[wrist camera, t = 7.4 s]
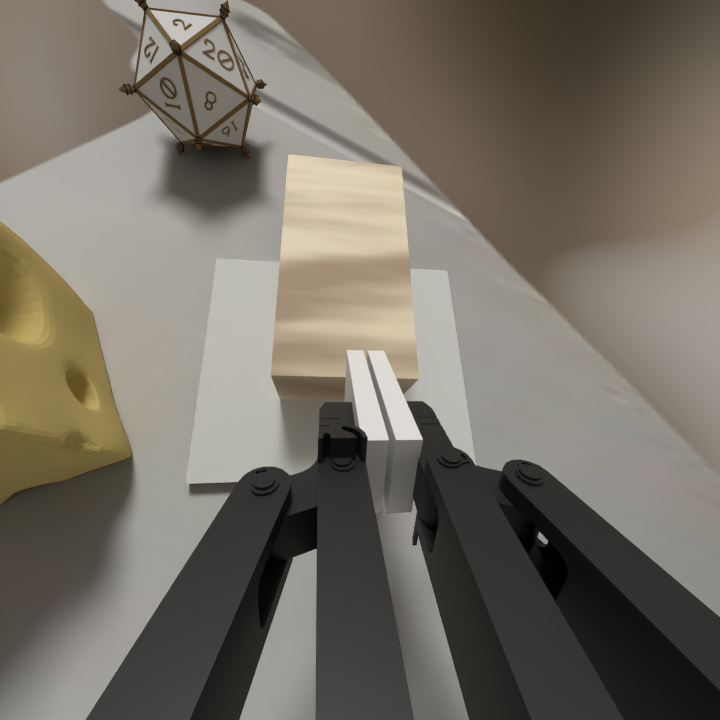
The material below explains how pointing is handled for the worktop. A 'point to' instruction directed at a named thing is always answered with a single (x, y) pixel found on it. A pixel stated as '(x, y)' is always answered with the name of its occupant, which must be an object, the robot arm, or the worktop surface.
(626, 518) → the worktop surface
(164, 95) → the game die
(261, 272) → the rubber mat
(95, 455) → the cheese
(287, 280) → the maple block
